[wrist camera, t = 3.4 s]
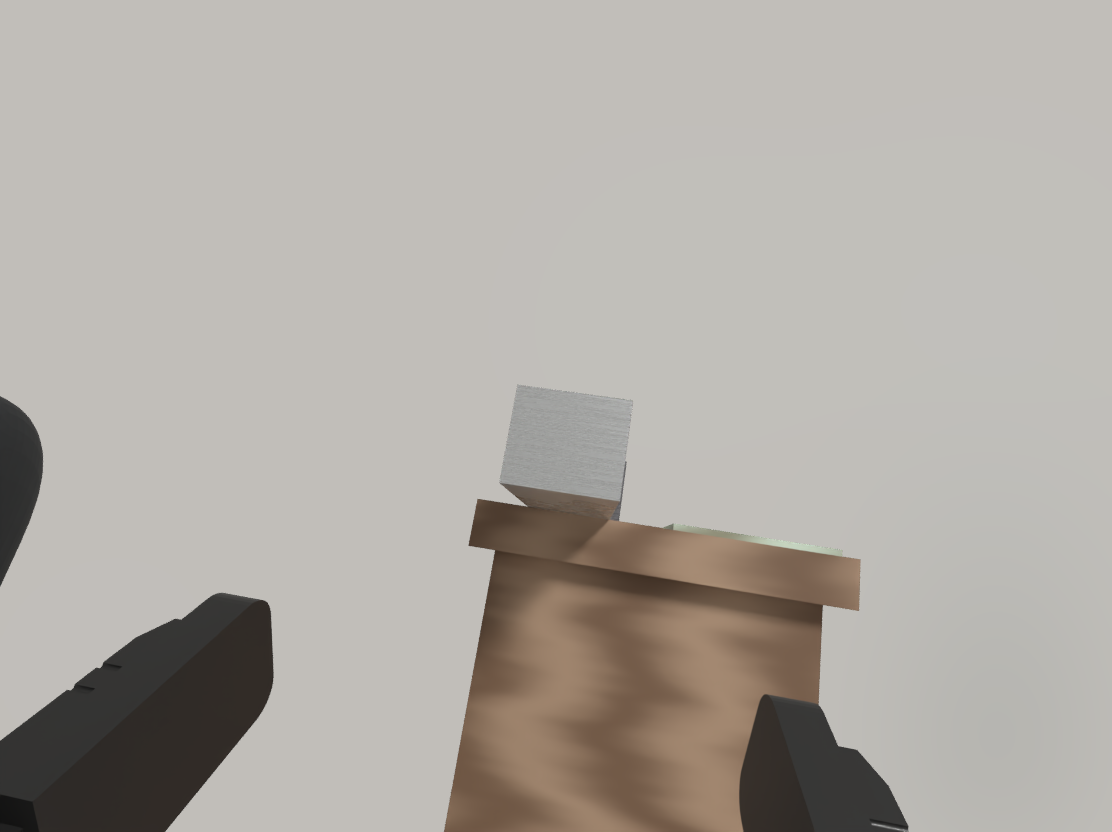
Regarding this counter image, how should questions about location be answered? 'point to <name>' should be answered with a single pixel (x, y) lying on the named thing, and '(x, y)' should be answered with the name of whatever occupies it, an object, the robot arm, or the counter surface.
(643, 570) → the stand
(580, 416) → the brushed steel block
